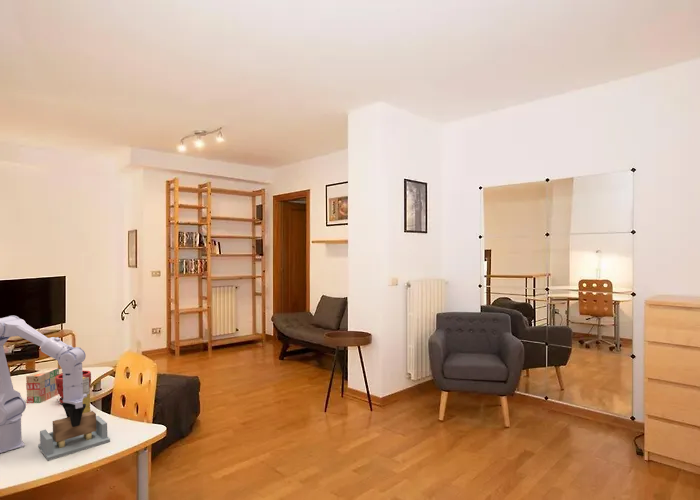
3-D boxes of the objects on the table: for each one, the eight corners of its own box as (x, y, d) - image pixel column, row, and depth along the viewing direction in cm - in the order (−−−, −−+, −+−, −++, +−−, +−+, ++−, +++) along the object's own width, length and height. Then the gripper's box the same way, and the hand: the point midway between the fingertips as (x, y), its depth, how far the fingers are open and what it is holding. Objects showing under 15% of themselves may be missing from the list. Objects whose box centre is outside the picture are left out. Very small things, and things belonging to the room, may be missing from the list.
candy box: (67, 413, 178) (66, 376, 177) (78, 410, 181) (77, 373, 181) (80, 417, 173) (79, 379, 173) (91, 414, 177) (90, 376, 177)
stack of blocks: (60, 387, 213) (59, 362, 213) (73, 387, 212) (72, 362, 212) (26, 403, 191) (25, 375, 191) (40, 403, 191) (39, 375, 191)
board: (55, 442, 144) (55, 424, 144) (53, 438, 146) (52, 421, 146) (96, 430, 152) (95, 413, 152) (93, 427, 155) (92, 410, 155)
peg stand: (47, 460, 138) (47, 441, 138) (38, 447, 148) (37, 429, 148) (110, 441, 151) (109, 424, 151) (97, 430, 160) (97, 414, 160)
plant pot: (98, 395, 199) (97, 369, 199) (77, 406, 186) (76, 378, 186) (71, 395, 200) (70, 369, 200) (49, 405, 187) (48, 378, 187)
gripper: (92, 386, 147) (93, 426, 147) (80, 377, 157) (81, 415, 157) (68, 391, 142) (69, 433, 142) (57, 382, 152) (58, 421, 152)
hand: (74, 424), depth 149 cm, fingers closed on board, 4 cm apart
